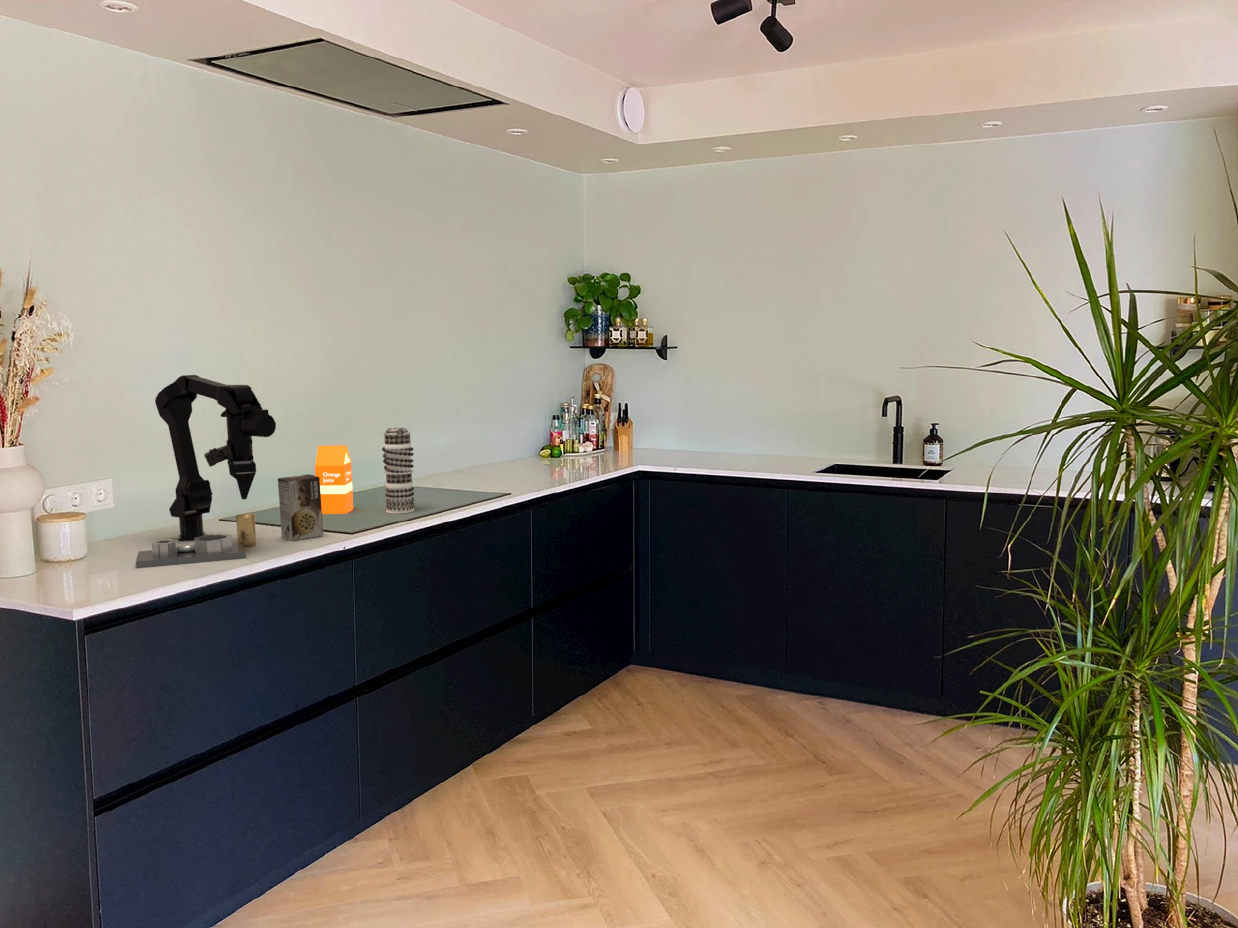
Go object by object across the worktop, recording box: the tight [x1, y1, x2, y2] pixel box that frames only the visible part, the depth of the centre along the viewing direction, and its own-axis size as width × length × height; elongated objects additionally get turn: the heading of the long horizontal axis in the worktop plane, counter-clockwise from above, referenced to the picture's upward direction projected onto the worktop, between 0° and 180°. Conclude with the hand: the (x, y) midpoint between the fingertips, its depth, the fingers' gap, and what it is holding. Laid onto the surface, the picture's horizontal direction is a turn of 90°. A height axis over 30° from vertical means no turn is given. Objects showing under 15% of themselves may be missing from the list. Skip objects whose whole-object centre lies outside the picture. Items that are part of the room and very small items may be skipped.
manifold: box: [135, 533, 247, 569], centre depth 247 cm, size 12×24×4 cm, turn 113°
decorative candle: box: [381, 427, 416, 515], centre depth 305 cm, size 9×9×25 cm
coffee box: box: [277, 473, 324, 542], centre depth 269 cm, size 9×6×16 cm
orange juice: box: [314, 445, 354, 515], centre depth 306 cm, size 8×9×20 cm
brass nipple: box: [235, 512, 257, 548], centre depth 260 cm, size 4×4×8 cm
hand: (243, 496), depth 258 cm, fingers open, 9 cm apart
